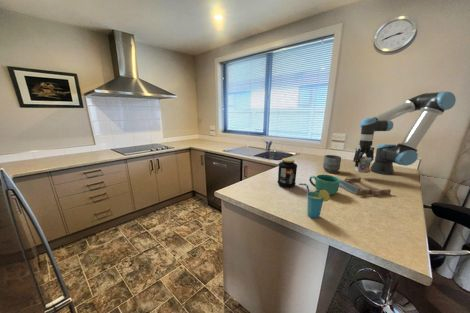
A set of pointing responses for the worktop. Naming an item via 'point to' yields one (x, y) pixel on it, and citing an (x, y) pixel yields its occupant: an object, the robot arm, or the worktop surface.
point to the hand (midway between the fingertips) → (361, 170)
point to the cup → (315, 202)
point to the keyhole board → (361, 188)
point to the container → (287, 172)
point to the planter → (331, 163)
